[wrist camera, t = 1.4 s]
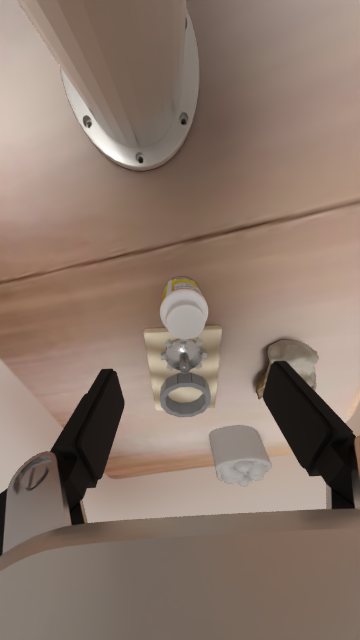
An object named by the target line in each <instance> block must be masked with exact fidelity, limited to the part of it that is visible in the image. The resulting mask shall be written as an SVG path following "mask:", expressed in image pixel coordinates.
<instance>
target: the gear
mask: <svg viewBox="0 0 360 640" xmlns="http://www.w3.org/2000/svg"><path fill="white" fill-rule="evenodd" d="M202 344H203V343H202V340H201V339H199V338H198V337H197V338H196V339H195V340H193V339H176V340H174V341H171V340H170V339H168V340H167V341H165V344H164V346H165V347H167V348H166V352H161V360H166V361H167V363H168V364H167V369H168V370H170V371H172V370H173V369H176V370H180V371H181V372H182V374H187V372H189V371H190V369H193V368H196V369H200V368H201V367H202V364H201V360H202V358H207V351H206V350H201V347H200V346H201V345H202Z"/></svg>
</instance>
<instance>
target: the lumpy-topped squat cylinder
mask: <svg viewBox="0 0 360 640" xmlns="http://www.w3.org/2000/svg"><path fill="white" fill-rule="evenodd" d="M209 437H210V443H211V449H212V454H213V460H214V465H215V470H216V474H217V478H218V480H220V481H224V482H225V483H227V484H232V483H236V482H238V484H239V485H241V486H244V487H245V486H248V485H249V484H250V483H251V482H252V480H254V481H259V480H261V479H262V478H263V477H264V474H265V473H266V472H269V470H270V469H271V467H272V465H271V462H270V459H269V457H268V455H267V452H266V450H265V448H264V445H263V443H262V441H261V438H260V436H259V434H258V431H257V430H256V429H254V428H252V427H249V426H244V425H235V426H227V427H223V428H218V429H215V430H213V431H211V432H210V434H209Z"/></svg>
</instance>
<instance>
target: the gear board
mask: <svg viewBox="0 0 360 640" xmlns="http://www.w3.org/2000/svg"><path fill="white" fill-rule="evenodd" d="M221 336H222V328H221V326H220V325H210V326H204V328H203V330H202V332H201V333H200V334H199V335H197V336H196V337H194V338H191V339H193V340H195V339H196V338H197V337H198V338H199V339H201V340H202V343H203V344H202V345H201V346H200V347H201V350H206V351H207V358H202V360H201V364H202V367H201V368H200V369H196V368H193V369H190V371H189V372H191V373H194V374H197V375H199V376H202V377H203V378H204V379H205V381H206V382H207V383H208V385H209V389H210V393H211V403H210V405H209V406H208V408H215V399H216V389H217V378H218V368H219V357H220V346H221ZM144 338H145V345H146V351H147V357H148V363H149V370H150V376H151V382H152V388H153V395H154V401H155V407H156V411H159V410H164V409H163V408H162V407H161V403H160V391H161V386H162V384H163V383H164V381H165V380H166V379H167V378H168V377H171V376H173V375H175V374H178V373H182V372H181V371H180V370H176V369H173V370H172V371H170V370H168V369H167V364H168V363H167V361H166V360H161V352H166V348H167V347H165V346H164V344H165V341H167V340H168V339H170V340H171V341H174V340H176V339H179V338H176V337H174V336H173V335H172V334H171V333H170V332H169V331H168V329H167V328H145V330H144ZM187 373H188V372H187ZM202 394H203V393H202V392H201V390H198V389H195V388H193V387H179V388H177V389H175V390H173V391H171V392H170V393H169V394H168V396H169V397H170V398H171V399H172V400H174V401H177V402H180V403H186V402H192V401H194V400H196V399H198V398H199V397H200V396H201V395H202Z"/></svg>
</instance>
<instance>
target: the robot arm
mask: <svg viewBox="0 0 360 640" xmlns="http://www.w3.org/2000/svg"><path fill="white" fill-rule="evenodd" d="M17 1H18V3H19V4H20V6H21V7H22V9H23V10H24V12H25V13H26V15H27V16H28V18H29V19H30V21H31V22H32V24H33V25H34V27H35V28H36V30H37V31H38V33H39V34H40V36H41V38H42V39H43V41H44V42H45V44H46V45H47V47H48V48H49V50H50V51H51V53H52V54H53V56H54V57H55V59H56V60H57V62H58V63H59V65H60V70H61V75H62V81H63V84H64V87H65V91H66V94H67V97H68V100H69V103H70V105H71V107H72V110H73V112H74V114H75V117H76V118H77V120H78V122H79V124H80V125H81V127H82V129H83V130H84V132H85V133H86V135H87V136H88V137H89V139H90V140H91V141H92V142H93V144H94V145H95V146H96V147H97V148H98V149H99V150H100V151H101V152H102V153H103V154H104V155H105V156H106V157H108V158H109V159H110V160H111V161H113V162H114V163H116V164H118V165H120V166H122V167H124V168H128V169H131V170H142V171H145V170H150V169H154V168H157V167H159V166H161V165H163V164H165V163H166V162H167V161H168V160H170V159H171V158H172V157H173V156H174V155H175V154H176V153H177V151H178V150H179V149H180V147H181V146H182V145H183V143H184V141H185V139H186V137H187V135H188V133H189V131H190V128H191V125H192V122H193V119H194V115H195V110H196V105H197V98H198V90H199V57H198V48H197V41H196V37H195V33H194V29H193V24H192V21H191V18H190V15H189V13H188V10H187V7H186V1H187V0H17ZM182 122H185V123H186V125H182V124H181V123H182ZM91 124H92V126H91V127H90V128H89V126H90V125H91ZM140 159H143V162H142V163H140V162H139V160H140ZM263 399H264V402H265V403H266V405H267V407H268V409H269V410H270V412H271V414H272V416H273V417H274V419H275V421H276V423H277V425H278V426H279V428H280V430H281V432H282V433H283V435H284V437H285V439H286V440H287V442H288V444H289V446H290V448H291V449H292V451H293V453H294V455H295V456H296V458H297V460H298V462H299V463H300V465H301V466H302V467H303V468H305V469H306V470H307V472H308V474H309V476H322V477H323V479H324V481H325V482H326V509H321V510H320V509H318V510H297V511H276V512H256V513H238V514H220V515H201V516H183V517H167V518H150V519H135V520H120V521H108V522H96V523H87V518H86V514H85V509H84V505H83V501H82V499H83V497H84V495H85V492H86V489H87V488H95V487H96V484H97V481H98V480H99V479H101V478H102V475H103V473H104V470H105V466H106V463H107V460H108V457H109V454H110V450H111V447H112V444H113V441H114V438H115V434H116V431H117V428H118V425H119V422H120V418H121V415H122V412H123V409H124V398H123V395H122V391H121V387H120V384H119V380H118V376H117V373H116V371H113V369H102V370H101V371H100V373H99V374H98V376H97V378H96V379H95V381H94V383H93V385H92V386H91V388H90V390H89V391H88V393H87V394H85V395H84V396H83V398H82V399H81V401H80V402H79V404H78V406H77V407H76V409H75V411H74V412H73V414H72V416H71V417H70V419H69V421H68V422H67V424H66V426H65V427H64V429H63V431H62V432H61V434H60V436H59V437H58V439H57V441H56V442H55V444H54V446H53V447H52V449H51V451H50V452H47V451H46V452H42V453H39V454H37V455H36V456H33V457H32V458H30V459H29V460H28V461H26V462H25V463H24V465H22V466H21V467H20V468H19V469H18V471H17V472H16V473H15V475H14V476H13V478H12V479H11V481H10V484H9V486H8V488H7V489H6V490H5V491H3V492H2V493H1V494H0V640H360V436H357V437H356V436H355V435H354V434H353V433H352V432H353V431H352V430H351V429H350V428H349V427H348V426H347V425H346V424H345V423H344V422H343V421H342V420H341V418H340V417H339V416H338V415H337V414H336V413H335V412H334V411H333V410H332V409H331V408H330V407H329V406H328V405H327V404H326V403H325V402H324V400H323V399H322V398H321V397H320V396H319V395H318V394H317V393H316V392H315V391H314V390H313V389H312V388H311V387H310V386H309V385H308V384H307V382H306V381H305V380H304V379H303V378H302V377H301V376H300V375H299V374H298V373H297V372H296V371H295V370H294V369H293V368H292V367H291V366H290V364H289V363H288V362H286V361H274V362H273V364H271V366H270V370H269V373H268V377H267V381H266V384H265V388H264V392H263Z"/></svg>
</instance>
